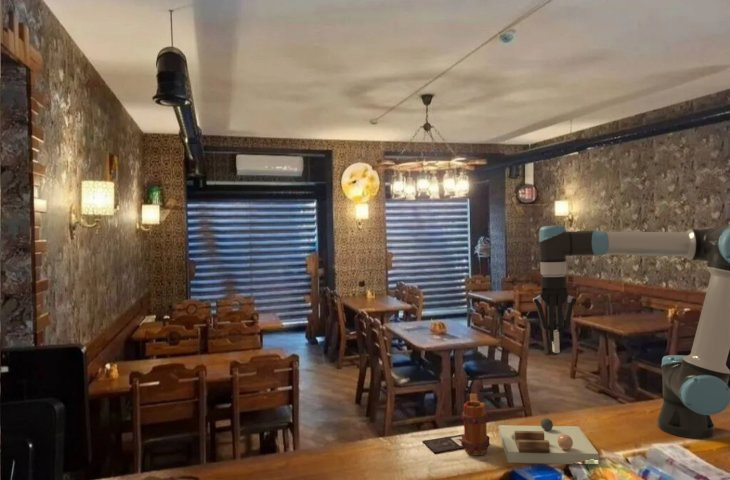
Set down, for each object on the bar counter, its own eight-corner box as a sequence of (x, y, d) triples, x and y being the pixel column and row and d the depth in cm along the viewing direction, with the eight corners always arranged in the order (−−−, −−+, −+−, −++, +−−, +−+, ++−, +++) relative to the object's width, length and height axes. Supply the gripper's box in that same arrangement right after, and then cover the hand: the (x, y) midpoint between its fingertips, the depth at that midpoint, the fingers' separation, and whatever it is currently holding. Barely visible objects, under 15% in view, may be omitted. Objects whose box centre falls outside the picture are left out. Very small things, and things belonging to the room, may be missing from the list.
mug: (491, 460, 143) (489, 406, 143) (461, 458, 145) (459, 405, 145) (489, 439, 158) (487, 391, 158) (462, 438, 159) (460, 390, 159)
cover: (543, 441, 147) (543, 431, 147) (549, 453, 139) (549, 442, 139) (514, 441, 148) (514, 430, 148) (519, 452, 140) (518, 441, 140)
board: (578, 436, 158) (578, 426, 158) (599, 464, 138) (598, 453, 138) (498, 434, 161) (498, 425, 161) (507, 462, 141) (507, 451, 141)
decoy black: (551, 428, 157) (551, 416, 157) (554, 432, 154) (553, 420, 154) (539, 427, 158) (539, 416, 158) (542, 432, 154) (541, 420, 154)
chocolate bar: (422, 440, 157) (474, 432, 163) (422, 443, 157) (474, 435, 163) (434, 452, 149) (489, 443, 154) (434, 455, 149) (489, 446, 154)
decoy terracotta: (571, 446, 143) (570, 432, 143) (574, 452, 139) (574, 437, 139) (556, 446, 144) (555, 432, 144) (559, 452, 140) (559, 437, 140)
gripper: (572, 274, 160) (574, 349, 161) (529, 275, 162) (531, 349, 162) (578, 276, 153) (581, 354, 153) (533, 277, 155) (536, 354, 155)
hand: (556, 351), depth 158 cm, fingers closed
